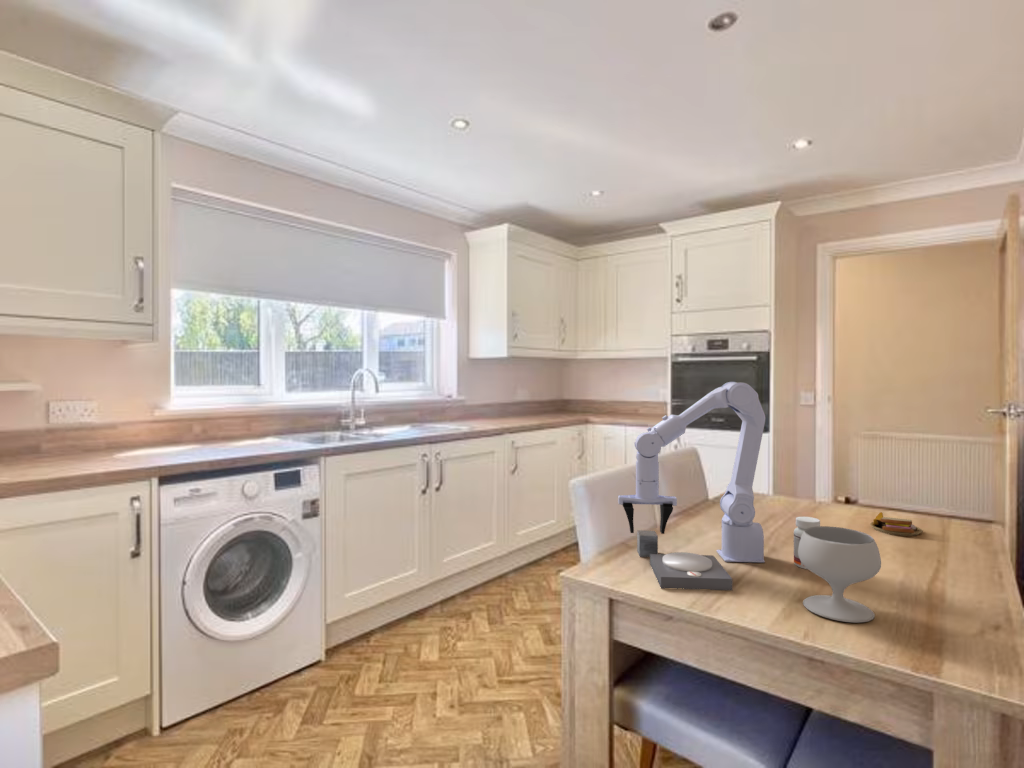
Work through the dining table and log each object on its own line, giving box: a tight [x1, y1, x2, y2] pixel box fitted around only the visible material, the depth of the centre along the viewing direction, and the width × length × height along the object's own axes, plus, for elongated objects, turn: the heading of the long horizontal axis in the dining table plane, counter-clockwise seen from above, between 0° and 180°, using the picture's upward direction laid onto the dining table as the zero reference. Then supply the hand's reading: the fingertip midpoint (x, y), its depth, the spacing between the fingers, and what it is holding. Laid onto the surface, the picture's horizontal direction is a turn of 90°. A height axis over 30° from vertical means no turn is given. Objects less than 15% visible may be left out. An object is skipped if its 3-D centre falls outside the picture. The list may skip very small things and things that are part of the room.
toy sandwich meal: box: [869, 511, 923, 537], centre depth 161 cm, size 12×14×5 cm
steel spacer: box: [636, 529, 659, 558], centre depth 142 cm, size 4×4×6 cm
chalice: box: [798, 525, 882, 624], centre depth 108 cm, size 14×14×15 cm
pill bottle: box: [793, 516, 821, 571], centre depth 132 cm, size 6×6×11 cm
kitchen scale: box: [649, 551, 733, 591], centre depth 126 cm, size 15×15×3 cm
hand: (646, 532), depth 142 cm, fingers open, 7 cm apart
